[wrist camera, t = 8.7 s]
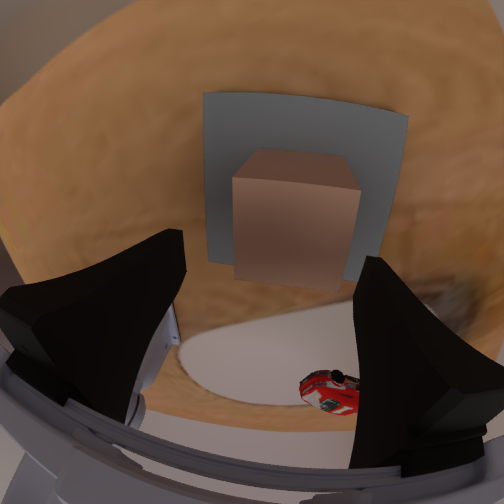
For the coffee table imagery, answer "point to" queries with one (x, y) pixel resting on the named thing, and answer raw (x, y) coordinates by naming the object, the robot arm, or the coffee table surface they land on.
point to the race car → (331, 391)
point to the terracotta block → (293, 218)
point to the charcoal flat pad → (307, 140)
